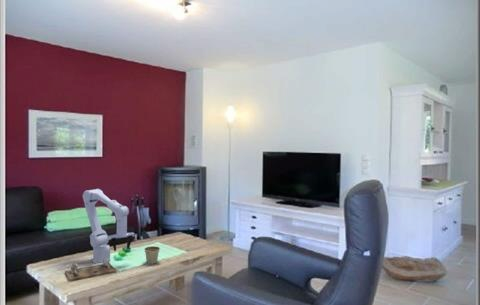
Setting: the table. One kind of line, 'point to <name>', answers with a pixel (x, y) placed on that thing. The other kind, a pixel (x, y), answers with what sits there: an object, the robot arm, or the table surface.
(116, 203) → the robot arm
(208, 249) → the table surface
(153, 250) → the flower pot
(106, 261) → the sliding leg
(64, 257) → the table surface
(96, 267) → the gauge board
